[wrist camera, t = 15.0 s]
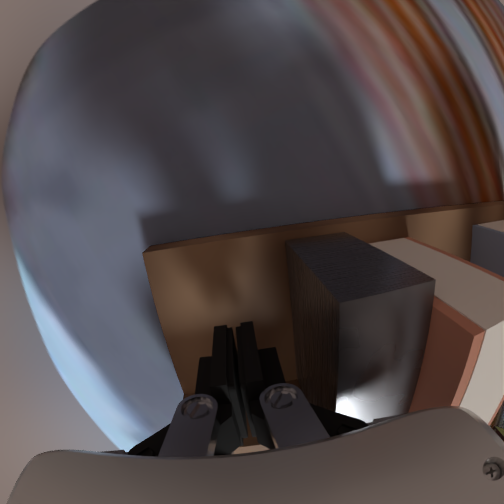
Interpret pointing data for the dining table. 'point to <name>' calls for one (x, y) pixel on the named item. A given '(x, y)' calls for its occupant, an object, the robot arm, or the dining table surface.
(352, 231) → the shelf
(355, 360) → the bookend
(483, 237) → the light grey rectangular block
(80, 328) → the dining table surface
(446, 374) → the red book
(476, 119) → the dining table surface
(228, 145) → the dining table surface
